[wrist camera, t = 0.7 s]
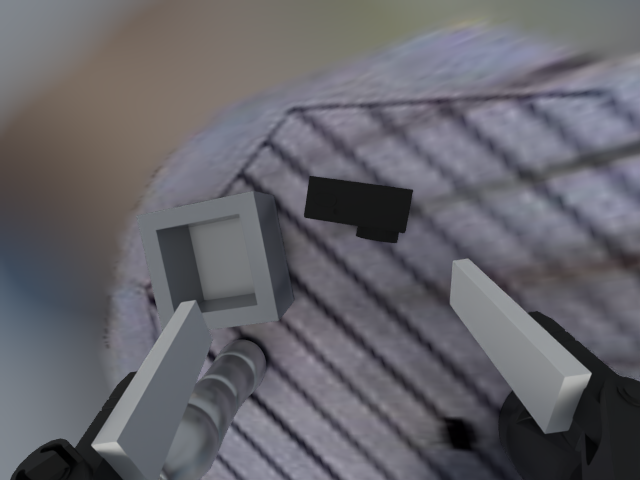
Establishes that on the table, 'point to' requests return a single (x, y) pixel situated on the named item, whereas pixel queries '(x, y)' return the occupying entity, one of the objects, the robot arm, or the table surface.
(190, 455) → the plastic bottle
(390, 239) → the digital camera
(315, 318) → the table surface
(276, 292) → the well
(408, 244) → the table surface
